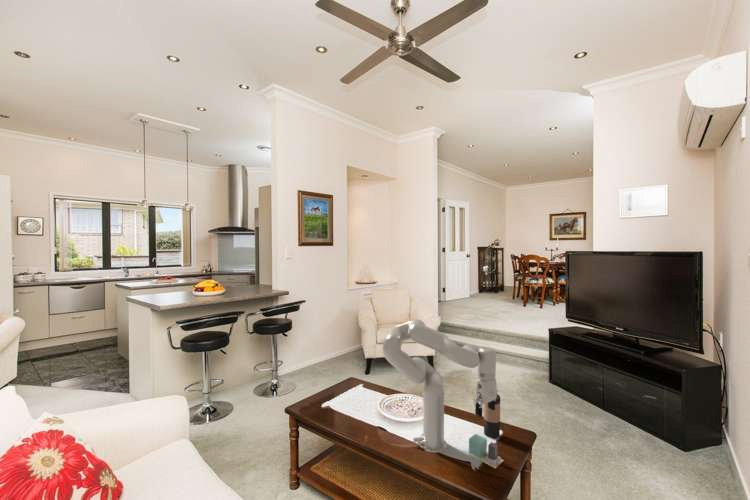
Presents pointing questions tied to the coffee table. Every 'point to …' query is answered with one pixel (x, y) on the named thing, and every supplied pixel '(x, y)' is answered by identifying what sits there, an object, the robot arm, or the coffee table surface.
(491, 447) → the post
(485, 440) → the mint green cube
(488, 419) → the travel mug
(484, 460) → the board
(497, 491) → the coffee table surface
